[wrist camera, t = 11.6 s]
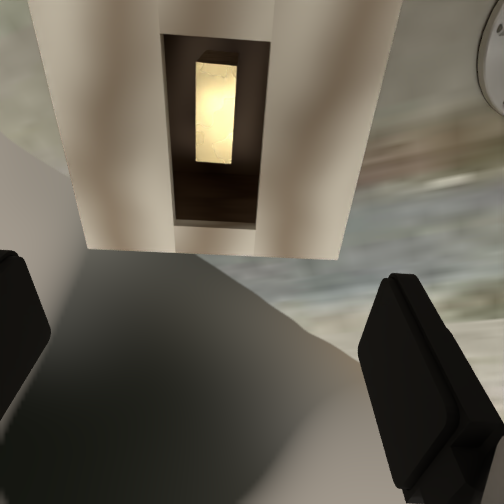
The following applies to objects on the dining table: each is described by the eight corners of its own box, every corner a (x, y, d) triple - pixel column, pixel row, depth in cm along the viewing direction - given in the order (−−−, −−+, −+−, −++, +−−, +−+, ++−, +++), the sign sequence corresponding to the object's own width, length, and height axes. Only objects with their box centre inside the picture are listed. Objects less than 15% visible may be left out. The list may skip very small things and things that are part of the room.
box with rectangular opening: (342, -2, 25) (403, -3, 15) (310, 183, 33) (337, 260, 23) (110, -20, 24) (18, -34, 14) (135, 173, 32) (87, 248, 23)
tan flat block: (231, 163, 24) (233, 134, 30) (236, 66, 21) (238, 53, 26) (195, 161, 24) (204, 132, 29) (195, 62, 21) (206, 49, 26)
